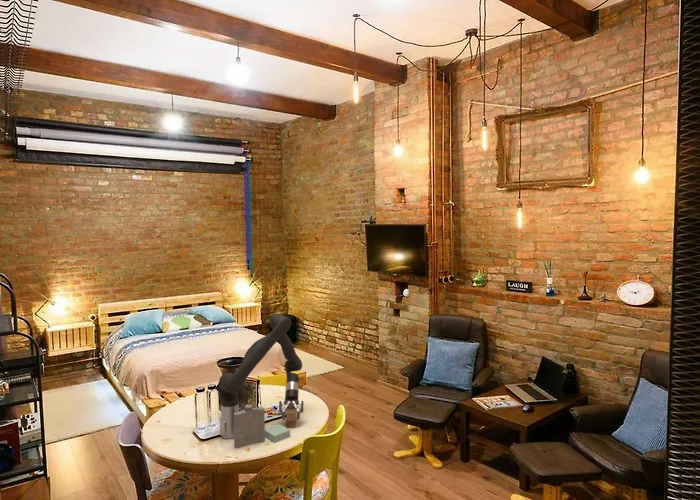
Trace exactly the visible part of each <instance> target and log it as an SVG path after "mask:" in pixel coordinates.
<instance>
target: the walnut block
mask: <svg viewBox="0 0 700 500" xmlns="http://www.w3.org/2000/svg"><path fill="white" fill-rule="evenodd" d="M296 420H297V411H296V409H287V410H286V412H285V427H286V428H288V429H296V425H297V421H296Z"/></svg>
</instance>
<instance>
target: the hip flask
mask: <svg viewBox="0 0 700 500" xmlns="http://www.w3.org/2000/svg"><path fill="white" fill-rule="evenodd" d="M244 407H245V409H243V410H240V411H239V412H235V413H234V438H233V442H234V444H233V445H234V446H233V447H234V449H240V448H243V447H246V446H250V445H254V444H258V443H259V444H260V443H264V442H265V441H266V437H265V429H266V427H265V426H266V424H265V423H266V422H265V407H264V406H261V407H260V406H259V407H253V405H252V404H246V405H245V406H244Z"/></svg>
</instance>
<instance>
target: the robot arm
mask: <svg viewBox="0 0 700 500" xmlns="http://www.w3.org/2000/svg"><path fill="white" fill-rule="evenodd" d="M269 324H270V327H271V330H272V331H270V332H269V333H268V334H267V335H265V336H263V337H261V338H259V339H257V340H256V341H254V343H252V345H251V346H250V347H249V348H248V349H247V351H246V352H245V353H244V357H243V358H242V361H241V364H240V366H238V367H239V368H238V369H236V371H235V372H234V373H231V372H225V373H223V374H222V375H221V376H220V377H219V380H218V395H219V396H218V397H219V400H220V418H219V433H220V434H219V435H220V436H221V437H222V438H223V439H224V440H226V439H234V413H235V412H239V410H240V407H239V404H240V402H239V397H238V394H237V392H238V391H239V389H241V387H242V386H243V384H244V382H245V381H246V379H247V378H248V377H249V375H250V374H251V372H253V370H254V369H255V368H256V367H257V366H258V364H260V362H261V361H262V360H263V359H264V357H265V356H266V355H267V354H268V353H269V351H270V350H271V349H272V348H273V347H274V345H275V344H276V343H277V342H278V343H279V346H280V348H281V352H282V354H283V357H284V359H285V360H286V361H285V363H284V365H283V366H284V370H285V374H286V385H285V392H284V393H285V394H284V396H285V397H284V401H282V400H279V402H278V404H279V406H278V412H279V414H281V419H282V421H286V410H287V409H296V420H297V421H298V420H300V414H301V413H303V412H304V405H305V404H304V400H299V387H300V386H299V380H300V379H299V374H298V373H294V372H298V371H299V372H300V371H301V370H302V368H303V362H302V360H301V358H300V357H299V356H298V354H297V352H296V350H295V346H294V344H293V342H292V341H291V339H290V337H289V336H288V334H287V332H288V331H289V330H290V328H291V325H292V320H291V318H289V317H288V316H285V315H282V314H280V313H275V314H273V315H272V316H271V317H270V320H269ZM283 405H284V408H283ZM298 405H300V409H299V407H298ZM282 408H283V409H282Z"/></svg>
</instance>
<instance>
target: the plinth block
mask: <svg viewBox="0 0 700 500" xmlns="http://www.w3.org/2000/svg"><path fill="white" fill-rule="evenodd" d="M288 438H291V429H290V428H286V426H284V425H282V424H281V423H278V424H276V425H273V426H270V427H268V428H265V439H267V440H269V441H271V442H272V443H274V444H275V443H277V442H280V441H283V440H286V439H288Z"/></svg>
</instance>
